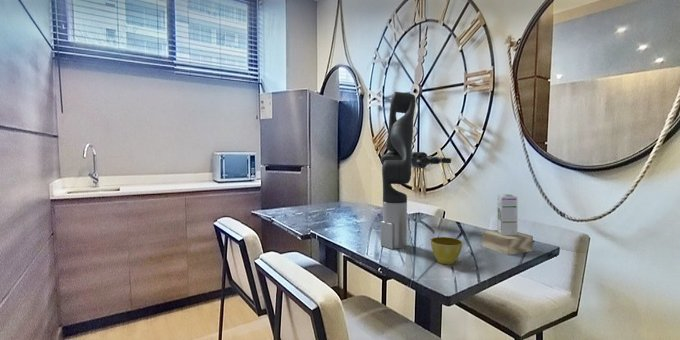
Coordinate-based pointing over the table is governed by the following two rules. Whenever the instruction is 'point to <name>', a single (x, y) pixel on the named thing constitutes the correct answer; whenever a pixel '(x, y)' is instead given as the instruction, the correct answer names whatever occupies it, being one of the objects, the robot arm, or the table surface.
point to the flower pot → (446, 249)
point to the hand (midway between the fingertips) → (444, 161)
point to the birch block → (507, 242)
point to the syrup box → (507, 214)
